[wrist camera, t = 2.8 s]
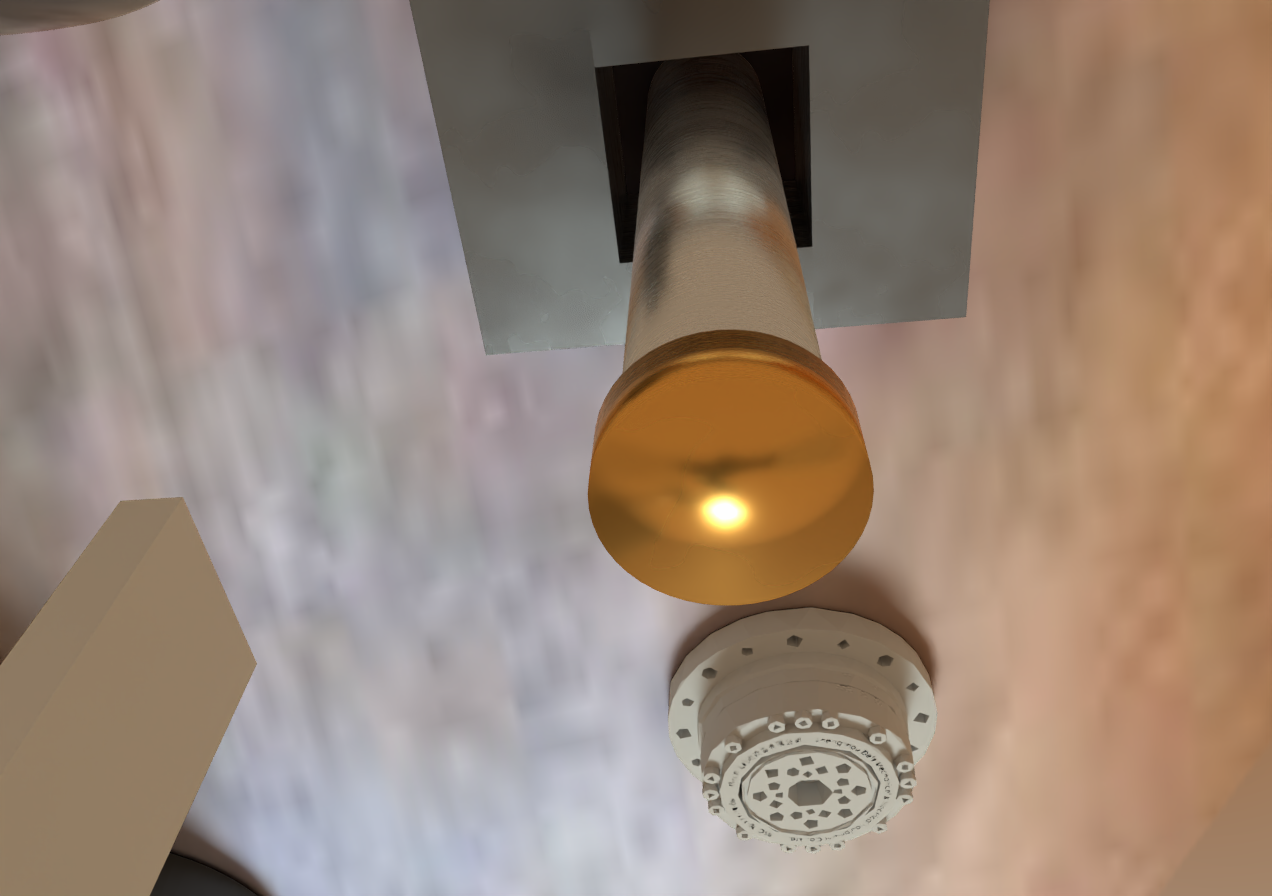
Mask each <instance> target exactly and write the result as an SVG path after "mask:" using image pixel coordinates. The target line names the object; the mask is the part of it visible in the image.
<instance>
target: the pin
mask: <svg viewBox="0 0 1272 896" xmlns="http://www.w3.org/2000/svg"><path fill="white" fill-rule="evenodd" d="M873 492H874V489H873V475H872V471H871V466H870V462H869V458H868V454H867V450H866V446H865V442H864V439H863V435H862V431H861V427H860V423H859V419H858V415H857V411H856V408H855V405H854V403H853V401H852V398H851V396H850V394H849V392H848V390H847V389H846V387H845V386H844V384H843V382H842V381H841V380H840V378H839V377H838V376H837V375H836V374H835V372H834V371H833V370H832V369H831V368H830V367H829V366H828V365H826V364H825V363H824V362H823V361H822V359H821V355H820V350H819V346H818V341H817V337H816V332H815V328H814V323H813V319H812V314H811V310H810V305H809V301H808V296H807V292H806V287H805V283H804V278H803V274H802V269H801V265H800V260H799V256H798V251H797V247H796V242H795V238H794V233H793V229H792V224H791V220H790V215H789V211H788V206H787V202H786V197H785V193H784V188H783V184H782V179H781V175H780V170H779V166H778V161H777V157H776V152H775V148H774V143H773V139H772V134H771V130H770V125H769V121H768V116H767V112H766V108H765V103H764V99H763V94H762V90H761V85H760V82H759V79H758V77H757V74H756V72H755V71H754V69H753V67H752V66H751V65H750V63H749V62H748V61H747V60H746V59H745V58H744V57H743V56H741V55H740V54H739V53H730V54H720V55H711V56H701V57H691V58H682V59H672V60H665V61H664V62H663V63H662V64H661V66H660V67H659V68H658V70H657V71H656V73H655V75H654V77H653V79H652V82H651V84H650V88H649V92H648V102H647V112H646V123H645V134H644V145H643V156H642V167H641V178H640V189H639V200H638V211H637V222H636V232H635V243H634V254H633V265H632V276H631V287H630V298H629V309H628V320H627V331H626V342H625V353H624V363H623V374H622V375H621V376H620V377H619V379H618V380H617V381H616V382H615V384H614V385H613V386H612V388H611V389H610V391H609V393H608V394H607V396H606V398H605V399H604V402H603V404H602V407H601V409H600V412H599V415H598V419H597V423H596V427H595V435H594V443H593V451H592V459H591V467H590V475H589V486H588V503H589V511H590V515H591V519H592V523H593V526H594V528H595V530H596V533H597V535H598V537H599V539H600V541H601V542H602V544H603V545H604V547H605V549H606V550H607V551H608V553H609V554H610V555H611V556H612V557H613V559H614V560H615V561H616V562H617V563H618V564H619V565H620V566H621V567H622V568H623V569H624V570H626V571H627V572H628V573H629V574H631V575H632V576H633V577H635V578H636V579H638V580H639V581H640V582H642V583H644V584H646V585H648V586H649V587H651V588H653V589H655V590H657V591H660V592H662V593H664V594H667V595H669V596H672V597H676V598H679V599H682V600H686V601H691V602H696V603H701V604H710V605H745V604H754V603H759V602H764V601H769V600H773V599H776V598H780V597H783V596H786V595H789V594H791V593H794V592H796V591H798V590H801V589H803V588H805V587H807V586H808V585H810V584H812V583H814V582H816V581H817V580H819V579H820V578H822V577H823V576H824V575H826V574H827V573H829V572H830V571H831V570H833V569H834V568H835V567H836V566H837V565H838V564H839V563H840V562H841V561H842V560H843V559H844V558H845V557H846V556H847V555H848V553H849V552H850V551H851V550H852V549H853V548H854V546H855V544H856V543H857V541H858V540H859V538H860V537H861V535H862V533H863V531H864V528H865V526H866V524H867V522H868V519H869V515H870V512H871V508H872V502H873Z"/></svg>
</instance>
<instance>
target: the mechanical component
mask: <svg viewBox="0 0 1272 896" xmlns="http://www.w3.org/2000/svg"><path fill="white" fill-rule="evenodd" d="M936 720H937V709H936V705H935V700H934V695H933V691H932V686H931V682H930V677H929V674H928V672H927V670H926V669H925V667H924V665H923V663H922V661H921V660H920V658H919V656H918V654H917V653H916V651H915V650H914V649H913V648H911V647H910V646H909V645H908V644H907V643H906V642H905V641H904V640H903V639H902V638H901V637H900V636H899V635H897V634H895V633H894V632H892V631H890V630H889V629H887V628H886V627H884V626H882V625H881V624H879V623H876V622H874V621H871V620H868V619H865V618H863V617H860V616H857V615H854V614H851V613H844V612H838V611H831V610H825V609H818V608H812V607H810V608H800V609H790V610H780V611H770V612H764V613H761V614H757V615H754V616H750V617H747V618H743V619H740V620H738V621H736V622H734V623H732V624H730V625H728V626H726V627H724V628H722V629H720V630H718V631H716V632H714V633H712V634H710V635H709V636H708V637H707V638H706V639H705V640H704V641H702V642H701V643H700V644H699V645H698V646H697V647H696V648H695V649H694V650H692V651H691V652H690V653H689V654H688V655H687V656H686V657H685V659H684V660H683V662H682V664H681V665H680V667H679V669H678V670H677V672H676V674H675V675H674V677H673V679H672V681H671V684H670V698H669V712H668V724H669V738H670V740H671V743H672V745H673V747H674V750H675V752H676V755H677V757H678V758H679V759H680V760H681V762H682V763H683V764H684V765H685V767H686V768H687V769H688V770H689V771H690V773H691V774H692V775H693V776H694V777H696V778H697V779H698V780H700V781H701V782H702V783H703V789H702V792H703V796H704V798H706V799H707V801H708V808H709V813H711V814H712V815H717V816H718V817H719V818H721V819H722V820H723V821H724V822H725V823H727V824H728V825H729V826H730V827H732V828H733V829H735V830H736V833H737V837H738V838H739V839H740V840H749V839H751V838H755V839H759V840H762V841H765V842H768V843H776V844H780V846H781V850H782V851H783V852H785V853H792V852H794V851H796V848H797V846H805V850H806V851H807V852H809V853H817V852H819V851H820V850H821V847H820V846H821V845H827V844H829V846H830V848H831V849H832V850H841V849H843V848H844V847H845V841H848V840H852V839H854V838H857V837H859V836H861V835H864V834H866V833H869V832H871V831H873V832H876V833H882V832H884V831H887V826H886V822H887V821H888V820H890V819H891V818H893V817H894V816H896V814H897V813H898V812H899V811H900V809H901V808H902V807H903V806H904V805H907V804H910V803H911V802H912V801H913V795H912V789H913V787H914V786H916V777H915V771H914V765H915V764H916V763H917V762H918V761H919V760H920V759H921V758H922V757H923V756H924V755H925V753H926V750H927V748H928V746H929V744H930V742H931V740H932V738H933V735H934V733H935V727H936Z"/></svg>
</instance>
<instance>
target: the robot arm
mask: <svg viewBox="0 0 1272 896" xmlns="http://www.w3.org/2000/svg"><path fill="white" fill-rule="evenodd" d="M256 664H257V663H256V661H255V658H254V656H253V654H252V652H251V649H250V647H249V645H248V643H247V640H246V638H245V636H244V634H243V631H242V629H241V627H240V625H239V622H238V620H237V618H236V616H235V613H234V611H233V609H232V607H231V605H230V602H229V600H228V598H227V596H226V593H225V591H224V589H223V587H222V584H221V582H220V580H219V578H218V575H217V573H216V571H215V569H214V566H213V564H212V562H211V560H210V557H209V555H208V553H207V551H206V548H205V546H204V544H203V542H202V539H201V537H200V535H199V533H198V530H197V528H196V526H195V524H194V521H193V519H192V517H191V515H190V512H189V510H188V508H187V506H186V503H185V501H184V499H183V497H177V498H161V499H145V500H129V501H120V503H119V504H118V505H117V507H116V508H115V509H114V511H113V512H112V513H111V515H110V516H109V518H108V519H107V520H106V522H105V523H104V524H103V526H102V527H101V528H100V530H99V531H98V533H97V534H96V535H95V537H94V538H93V539H92V541H91V542H90V544H89V545H88V546H87V548H86V549H85V550H84V552H83V553H82V554H81V556H80V557H79V559H78V560H77V561H76V563H75V564H74V565H73V567H72V568H71V569H70V571H69V572H68V574H67V575H66V576H65V578H64V579H63V580H62V582H61V583H60V584H59V586H58V587H57V589H56V590H55V591H54V593H53V594H52V595H51V597H50V598H49V600H48V601H47V602H46V604H45V605H44V606H43V608H42V609H41V610H40V612H39V613H38V615H37V616H36V617H35V619H34V620H33V621H32V623H31V624H30V625H29V627H28V628H27V630H26V631H25V632H24V634H23V635H22V636H21V638H20V639H19V641H18V642H17V643H16V645H15V646H14V647H13V649H12V650H11V651H10V653H9V654H8V656H7V657H6V658H5V660H4V661H3V662H2V664H1V665H0V896H257V895H256V894H254V893H253V892H252V891H250V890H249V889H247V888H246V887H244V886H243V885H241V884H240V883H238V882H236V881H235V880H233V879H231V878H229V877H228V876H226V875H224V874H222V873H220V872H218V871H216V870H214V869H211V868H209V867H207V866H205V865H202V864H200V863H197V862H195V861H192V860H189V859H186V858H183V857H180V856H177V855H174V854H171V853H170V850H171V848H172V846H173V844H174V842H175V840H176V837H177V835H178V833H179V831H180V829H181V827H182V824H183V822H184V820H185V818H186V816H187V814H188V811H189V809H190V807H191V805H192V803H193V801H194V799H195V796H196V794H197V792H198V790H199V788H200V786H201V783H202V781H203V779H204V777H205V775H206V773H207V770H208V768H209V766H210V764H211V762H212V760H213V757H214V755H215V753H216V751H217V749H218V747H219V744H220V742H221V740H222V738H223V736H224V734H225V731H226V729H227V727H228V725H229V723H230V721H231V718H232V716H233V714H234V712H235V710H236V708H237V705H238V703H239V701H240V699H241V697H242V695H243V692H244V690H245V688H246V686H247V684H248V682H249V679H250V677H251V675H252V673H253V671H254V669H255V667H256Z"/></svg>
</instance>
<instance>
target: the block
mask: <svg viewBox="0 0 1272 896" xmlns="http://www.w3.org/2000/svg"><path fill="white" fill-rule="evenodd" d="M409 1H410V6H411V10H412V15H413V20H414V24H415V29H416V33H417V38H418V43H419V47H420V52H421V57H422V61H423V66H424V70H425V75H426V80H427V84H428V89H429V94H430V98H431V103H432V107H433V112H434V117H435V121H436V126H437V130H438V135H439V140H440V144H441V149H442V154H443V158H444V163H445V167H446V172H447V177H448V181H449V186H450V191H451V195H452V200H453V204H454V209H455V214H456V218H457V223H458V228H459V232H460V237H461V241H462V246H463V251H464V255H465V260H466V265H467V269H468V274H469V278H470V283H471V288H472V292H473V297H474V302H475V306H476V311H477V315H478V320H479V325H480V329H481V334H482V339H483V343H484V348H485V352H486V355H494V354H507V353H519V352H532V351H544V350H557V349H570V348H582V347H595V346H607V345H620V344H625V342H626V331H627V320H628V309H629V298H630V287H631V276H632V265H633V254H634V243H635V232H636V222H637V211H638V200H639V194H634V195H627V186H626V178H625V169H624V161H623V153H622V144H621V136H620V127H619V119H618V110H617V102H616V93H615V85H614V77H613V68H612V66H614V65H624V64H633V63H643V62H653V61H662V60H672V59H682V58H691V57H701V56H711V55H720V54H730V53H739V52H749V51H759V50H768V49H778V48H788V47H792V64H793V103H794V143H795V180H786V181H782V184H783V188H784V193H785V197H786V202H787V206H788V211H789V215H790V220H791V224H792V229H793V233H794V238H795V242H796V247H797V251H798V256H799V260H800V265H801V269H802V274H803V278H804V283H805V287H806V292H807V296H808V301H809V305H810V310H811V314H812V319H813V323H814V328H815V329H822V328H834V327H847V326H859V325H872V324H885V323H897V322H910V321H922V320H935V319H948V318H960V317H966V310H967V297H968V283H969V270H970V256H971V243H972V230H973V216H974V203H975V189H976V176H977V162H978V149H979V136H980V122H981V109H982V95H983V82H984V68H985V55H986V42H987V28H988V15H989V1H990V0H409Z"/></svg>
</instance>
